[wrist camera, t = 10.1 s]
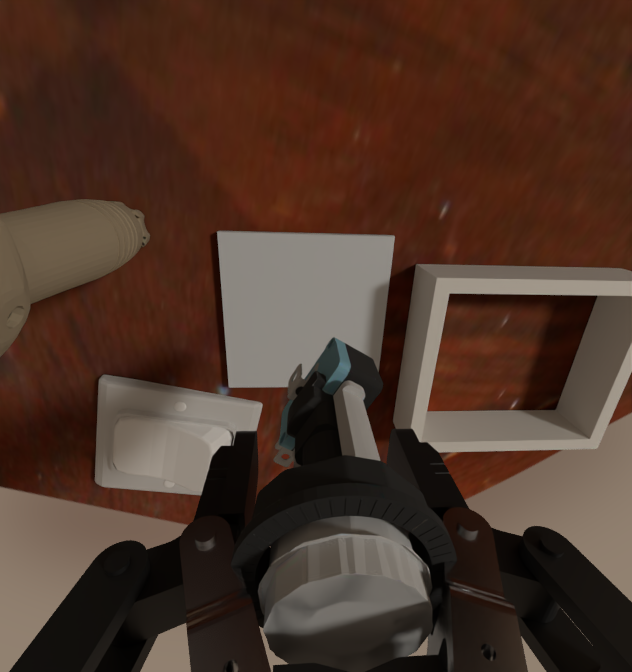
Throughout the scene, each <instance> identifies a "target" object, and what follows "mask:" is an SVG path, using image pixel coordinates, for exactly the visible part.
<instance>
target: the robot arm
mask: <svg viewBox="0 0 632 672" xmlns="http://www.w3.org/2000/svg"><path fill="white" fill-rule="evenodd" d="M387 466H389V467H390V468H391V469H393V470H394V471H395V472H396V473H398V474H399V475H400V476H402V477H403V478H404V479H405V480H407V481H408V482H409V483H410V484H412V485H413V486H414V487H416V488H417V489H418V490H419V491H421V493H422V494H423V496H424V498H425V501H426V503H427V506H428V507H429V508H430V509H432V510H433V511H434V512H435V513H436V514H437V515H438V517H439V518H440V519H441V521H442V522H443V523H444V525H445V527H446V529H447V531H448V533H449V536H450V538H451V540H452V543H453V546H454V548H455V551H456V557H457V561H454V562H449V561H447V562H444V565H443V569H442V573H441V603H440V604H439V605H438V606H437V607H436V608H435V609H434V610H433V611H432V623H433V628H432V631H431V633H430V634H429V635H428V648H427V655H424V656H409V657H397V658H395V659H393V660H391V661H388V662H386V663H384V664H381V665H379V666H377V667H374V668H372V669H370V670H367V671H365V672H528V670H527V665H526V660H525V654H524V649H523V644H522V639H521V636H522V637H523V639H524V640H525V642H526V643H527V644H528V646H529V647H530V649H531V650H532V652H533V653H534V654H535V656H536V657H537V659H538V660H539V662H540V663H541V664H542V666H543V667H544V669H545V670H546V671H547V672H632V602H631V601H630V600H629V599H628V598H627V597H626V596H625V595H624V594H622V592H621V591H620V590H618V588H616V587H615V586H614V585H613V584H612V583H611V582H610V581H609V580H608V579H607V578H606V577H605V576H604V575H603V574H602V573H601V572H600V571H599V570H598V569H597V568H596V567H595V566H594V565H593V564H592V563H591V562H590V561H589V560H588V559H587V558H586V557H585V556H584V555H582V554H581V552H580V551H579V550H577V548H576V547H574V546H573V545H572V544H571V543H570V542H569V541H568V540H567V539H566V538H564V537H563V536H562V535H560V534H559V533H557V532H555V531H553V530H551V529H549V528H545V527H541V526H532V527H529V528H528V529H526V530H525V532H524V534H523V536H519V535H515V534H511V533H507V532H503V531H499V530H496V529H494V528H491V527H490V525H489V524H488V522H487V521H486V520H485V519H484V518H483V517H482V516H481V515H479V514H478V513H476V512H474V511H472V510H470V509H469V508H468V506H467V504H466V502H465V500H464V499H463V497H462V495H461V493H460V491H459V489H458V488H457V486H456V484H455V482H454V480H453V478H452V477H451V475H450V474H449V471H448V469H447V467H446V466H445V465H444V462H443V460H442V458H441V456H440V455H439V453H438V451H437V450H435V449H434V448H433V447H432V446H431V445H430V444H429V443H428V442H419V440H418V438H417V436H416V434H415V432H414V430H413V429H392V430H391V434H390V441H389V448H388V455H387ZM257 482H258V447H257V431H236V434H235V439H234V443H233V446H221V447H220V448H219V449H218V450H217V451H216V452H215V454H214V455H213V456H212V459H211V462H210V466H209V470H208V473H207V476H206V480H205V483H204V487H203V490H202V494H201V497H200V501H199V504H198V508H197V511H196V515H195V518H194V521H193V522H192V523H190V524H189V525H188V526H187V527H186V529H185V530H184V531H183V533H182V535H181V536H179V537H178V538H176V539H175V540H173V541H171V542H168V543H166V544H163V545H159V546H156V547H153V548H150V549H147V550H146V548H145V546H144V545H143V544H141V543H140V542H137V541H131V540H130V541H123V542H119V543H116V544H114V545H112V546H110V547H108V548H107V549H105V550H104V551H103V552H101V553H100V554H99V555H98V556H97V557H96V558H95V560H94V561H93V562H92V564H91V565H90V566H89V567H88V569H87V570H86V571H85V573H84V574H83V575H82V577H81V578H80V579H79V581H78V582H77V583H76V584H75V586H74V587H73V588H72V590H71V591H70V593H69V594H68V595H67V596H66V598H65V599H64V600H63V602H62V603H61V604H60V605H59V607H58V608H57V609H56V611H55V612H54V613H53V615H52V616H51V617H50V619H49V620H48V621H47V623H46V624H45V625H44V626H43V628H42V629H41V631H40V632H39V633H38V634H37V636H36V637H35V639H34V640H33V641H32V642H31V644H30V645H29V646H28V648H27V649H26V650H25V651H24V653H23V654H22V655H21V657H20V658H19V659H18V661H17V662H16V663H15V665H14V666H13V667H12V669H11V670H10V671H9V672H140V671H141V669H142V667H143V664H144V662H145V660H146V658H147V656H148V654H149V652H150V650H151V648H152V646H153V644H154V642H155V640H156V638H157V636H158V634H160V633H163V632H165V631H167V630H170V629H172V628H175V627H177V626H179V625H181V624H184V623H186V625H187V636H188V646H189V655H190V665H191V672H271V670H270V666H269V662H268V659H267V655H266V651H265V647H264V643H263V640H262V636H261V633H260V628H259V624H258V621H257V617H256V613H255V609H254V606H253V602H252V599H251V596H250V594H249V593H248V592H247V590H246V586H245V582H244V579H243V575H242V571H241V567H240V565H231V560H232V555H233V550H234V547H235V544H236V541H237V539H238V538H239V536H240V534H241V532H242V531H243V530H244V528H245V527H246V525H247V524H248V523H249V522H250V521H251V520H252V516H253V512H254V508H255V500H256V491H257ZM407 534H408V535H409V531H408V530H407ZM560 607H561V608H562V609H563V610H562V609H561V608H560ZM565 613H566V614H567V615H568V616H569V617H568V616H567V615H566V614H565ZM570 619H571V620H572V621H573V622H574V623H573V622H572V621H571V620H570ZM576 626H577V627H578V628H579V629H580V630H581V631H580V630H579V629H578V628H577V627H576ZM581 632H582V633H583V634H584V635H585V636H584V635H583V634H582V633H581ZM586 638H587V639H588V640H589V641H590V642H589V641H588V640H587V639H586ZM592 645H593V646H592ZM273 672H348V671H344V670H341V669H337V668H333V667H329V666H326V665H322V664H318V663H301V664H287V665H273Z"/></svg>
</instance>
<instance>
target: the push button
mask: <svg viewBox="0 0 632 672" xmlns="http://www.w3.org/2000/svg"><path fill="white" fill-rule="evenodd" d="M296 374H297V375H296ZM295 375H296V377H295ZM301 376H302V364H299V365H298V366H297V368H296V369H295V371H294V372H293V374H292V375H291V377H290V379H289V381H288V396H287V397H288V398H289V399H290V401H289V402H288V404H287V405H286V407H285V408H284V410H283V413H282V421H281V433H280V438H279V441H278V442H277V443H276V445H275V448H276V449H278V450H280V451H279V452H278V454H277V455H276V456H275V458H274V462H276V463H278V464H280V465H283V466H285V467H288V466H289V465H290V463H291V462H292V461H294V468H291V469H287V470H285V471H283V472H282V473H280V474H279V475H278V476H277V477H276V478H275V479H273V480H272V481H271V482H270V483H269V484H268V485H266V486H265V487H264V488H263V489H262V490H261V491H260V492H259V493H258V496H257V500H256V504H255V508H254V512H253V516H252V520H251V521H250V522H249V523H248V524H247V525H246V527H245V528H244V530H243V531H242V532H241V534H240V536H239V538H238V539H237V541H236V544H235V547H234V550H233V555H232V560H231V565H240V567H241V571H242V575H243V579H244V582H245V586H246V590H247V592H248V593H249V594H250V596H251V599H252V602H253V606H254V609H255V613H256V617H257V621H258V624H259V626H260V627H262V628H264V630H263V631H264V634H265V636H266V638H267V641H268V644H269V648H270V650H272V651H273V652H274V653H275V655H276V656H278V657H279V658H281V659H283V660H284V661H285V662H287V663H288V664H301V663H318V664H322V665H326V666H329V667H333V668H337V669H341V670H344V671H348V672H365V671H367V670H370V669H372V668H374V667H377V666H379V665H381V664H384V663H386V662H388V661H391V660H393V659H395V658H397V657H407V656H409V655H411V654H412V653H414V652H415V651H417V650H418V648H419V647H420V646H421V644H422V643H423V642H424V640H425V639H426V638H427V637H428V635H429V634H430V633H431V631H432V628H433V623H432V611H433V610H434V609H435V608H436V607H437V606H438V605H439V604H440V603H441V573H442V569H443V565H444V562H447V561H449V562H454V561H457V557H456V551H455V548H454V546H453V543H452V540H451V538H450V536H449V533H448V531H447V529H446V527H445V525H444V523H443V522H442V521H441V519H440V518H439V517H438V515H437V514H436V513H435V512H434V511H433V510H432V509H430V508H429V507H428V506H427V503H426V501H425V498H424V496H423V494H422V493H421V491H419V490H418V489H417V488H416V487H414V486H413V485H412V484H410V483H409V482H408V481H407V480H405V479H404V478H403V477H402V476H400V475H399V474H398V473H396V472H395V471H394V470H393V469H391V468H390V467H389V466H387V465H386V464H385V463H383V462H381V461H380V458H379V454H378V451H377V447H376V444H375V440H374V437H373V433H372V430H371V426H370V423H369V419H368V416H367V413H366V410H367V409H368V407H369V406H370V405H371V404H372V402H373V401H374V400H375V398H376V397H377V396H378V395H379V393H380V392H381V390H382V388H383V382H382V379H381V377H380V375H379V372H378V370H377V367H376V365H375V363H374V360H373V359H372V358H371V357H369V356H367V355H365V354H364V353H362V352H360V351H358V350H356V349H355V348H353V347H351V346H349V345H348V344H346V343H344V342H342V341H340V340H338V339H337V338H335V337H333V338H332V339H331V340H330V341H329V343H328V344H327V346H326V348H325V350H324V351H323V353H322V354H321V356H320V357H319V359H318V360H317V361H316V363H315V364H314V366H313V367H312V369H311V370H310V372H309V373H308V375H307V376H306V377H305V379H303V378H302V377H301ZM294 377H295V379H294ZM293 379H294V381H293ZM283 454H288V455H289V456H290V458H289V459H282V458H281V455H283ZM407 530H408V531H409V535H408V534H407ZM270 546H271V548H270Z"/></svg>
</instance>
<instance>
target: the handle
mask: <svg viewBox="0 0 632 672" xmlns="http://www.w3.org/2000/svg"><path fill="white" fill-rule="evenodd" d="M149 239H150V234H149V233H148V232H147V230H146V228H145V224H144V215H143V214H142V212H140V211H139V210H132V209H130V208H128V207H126V206H125V205H124V204H123V203H121V202H113V201H110V202H108V201H102V200H85V199H83V200H70V201H61V202H56V203H51V204H46V205H42V206H37V207H32V208H28V209H23V210H18V211H13V212H8V213H2V214H0V357H1V356H2V354H3V353H4V352H5V351H6V350H7V349H8V348H9V347H10V346H11V344H12V343H13V342H14V340H15V339H16V337H17V336H18V334H19V332H20V330H21V329H22V327H23V325H24V324H25V322H26V319H27V317H28V314H29V311H30V304H32V303H35V302H37V301H40V300H42V299H45V298H47V297H50V296H53V295H55V294H58V293H60V292H63V291H66V290H68V289H71V288H74V287H76V286H79V285H82V284H85V283H87V282H90V281H93V280H96V279H98V278H101V277H103V276H105V275H107V274H108V273H110V272H112V271H114V270H116V269H118V268H119V267H120V266H122V265H123V264H125V263H126V262H128V261H129V260H130V259H131V258H132V257H133V256H134V255H135V254H136V253H137V252H138V251H139V249H140V248H141V247H144V246H145V245H146V244H147V243H148V241H149Z"/></svg>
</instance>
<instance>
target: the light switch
mask: <svg viewBox="0 0 632 672" xmlns="http://www.w3.org/2000/svg"><path fill="white" fill-rule="evenodd" d="M262 406H263V405H262V403H260V402H256V401H251V400H245V399H240V398H235V397H229V396H224V395H218V394H213V393H208V392H202V391H197V390H191V389H186V388H180V387H175V386H170V385H164V384H159V383H153V382H148V381H142V380H137V379H130V378H124V377H117V376H110V375H102V376H101V378H100V379H99V385H98V411H97V436H96V461H95V482H96V483H97V484H99V485H100V486H102V487H110V488H122V489H134V490H145V491H157V492H168V493H180V494H192V495H201V494H202V490H203V487H204V483H205V480H206V476H207V473H208V470H209V466H210V462H211V459H212V456H213V455H214V454H215V452H216V451H217V450H218V449H219V448H220V447H221V446H231V443H232V439H233V435H234V439H235V434H236V431H256V430H257V426H258V422H259V418H260V414H261V410H262ZM232 432H233V435H232ZM234 439H233V443H234ZM232 446H233V444H232Z"/></svg>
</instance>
